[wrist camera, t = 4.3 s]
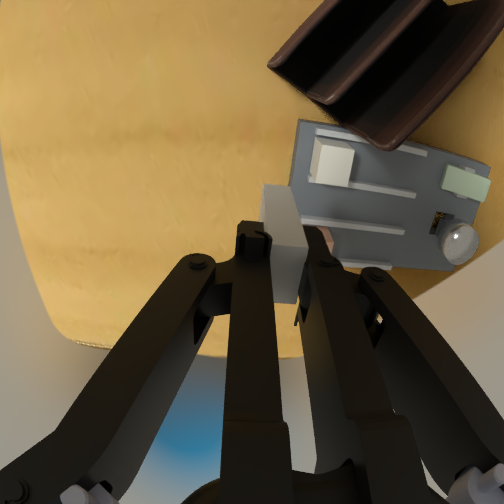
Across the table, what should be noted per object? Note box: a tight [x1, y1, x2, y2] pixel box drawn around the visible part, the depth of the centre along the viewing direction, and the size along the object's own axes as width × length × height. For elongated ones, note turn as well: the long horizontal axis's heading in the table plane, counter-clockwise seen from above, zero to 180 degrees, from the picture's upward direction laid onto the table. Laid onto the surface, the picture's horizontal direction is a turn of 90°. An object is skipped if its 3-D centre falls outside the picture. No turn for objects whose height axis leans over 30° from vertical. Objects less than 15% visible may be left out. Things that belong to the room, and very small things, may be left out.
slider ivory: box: [310, 137, 355, 187], centre depth 28 cm, size 3×4×3 cm
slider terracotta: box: [306, 225, 334, 253], centre depth 33 cm, size 3×4×3 cm
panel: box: [288, 119, 491, 272], centre depth 32 cm, size 24×15×4 cm, turn 84°
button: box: [435, 217, 479, 265], centre depth 31 cm, size 5×5×5 cm
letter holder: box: [267, 0, 504, 152], centre depth 18 cm, size 10×20×14 cm, turn 143°
